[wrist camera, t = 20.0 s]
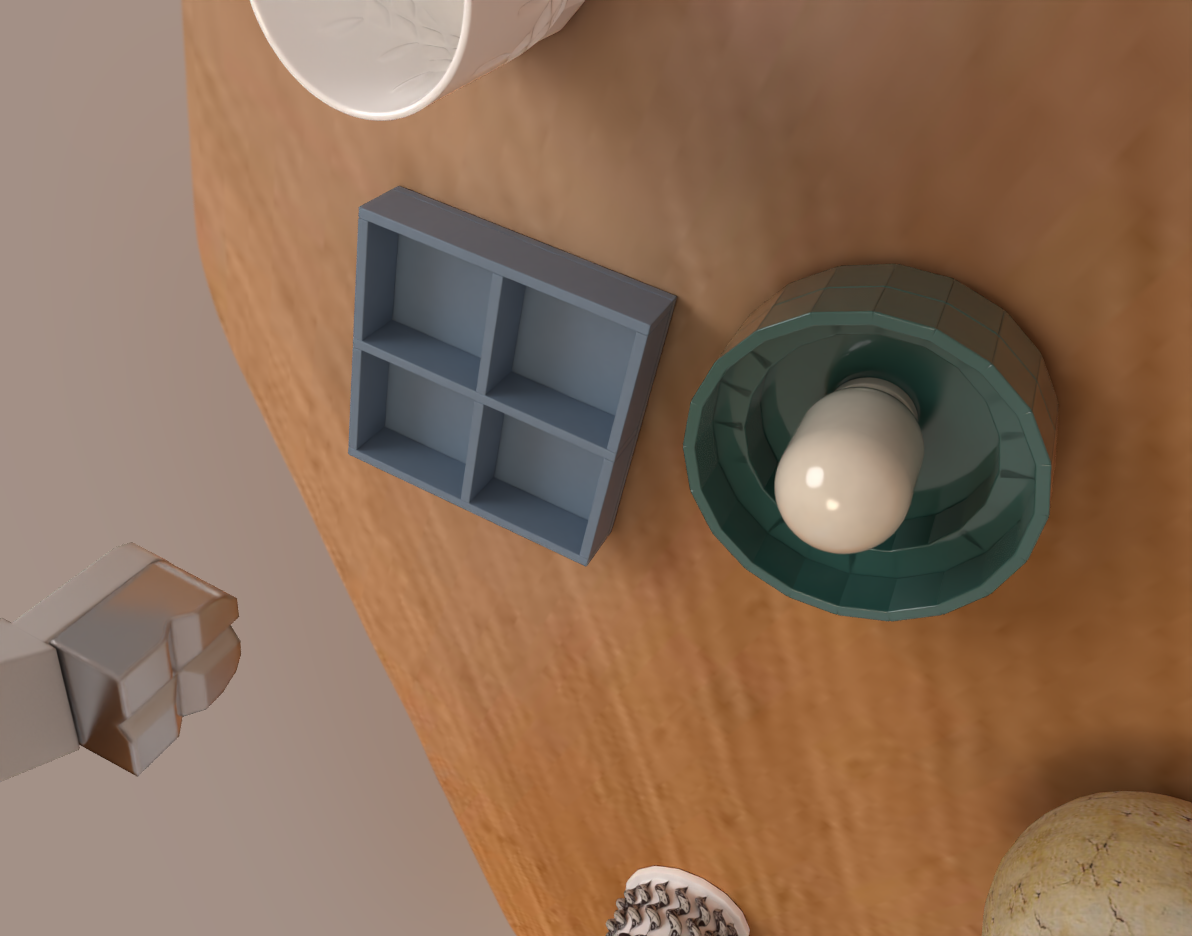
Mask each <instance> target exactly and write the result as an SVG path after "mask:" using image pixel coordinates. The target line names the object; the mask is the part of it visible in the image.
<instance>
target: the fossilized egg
mask: <svg viewBox="0 0 1192 936" xmlns="http://www.w3.org/2000/svg"><path fill="white" fill-rule="evenodd" d="M982 936H1192V802H1189V801H1185V800H1182V799H1178V798H1175V797H1171V796H1167V795H1162V794H1156V793H1150V792H1140V791H1113V792H1102V793H1096V794H1091V795H1087V796H1083V797H1079V798H1077V799H1074V800H1072V801H1070V802H1068V803H1065V804H1063V805H1061V806H1059V807H1057V808H1055V809H1053V810H1051V811H1050V812H1048V813H1046V814H1045V815H1043V816H1042V817H1040V818H1039V819H1038V820H1036V821H1035V822H1034V823H1032V824H1031V825H1030V826H1029V827H1028V828H1027V829H1026V830H1025V831H1024V832H1023V833H1022V834H1021V835H1020V837H1019V838H1018V839H1017V840H1016V842H1015V843H1014V844H1013V845H1012V847H1011V848H1010V849H1009V851H1008V852H1007V853H1006V855H1005V856H1004V857H1003V859H1002V860H1001V862H1000V864H999V867H998V869H997V871H996V873H995V876H994V879H993V882H992V885H991V887H990V890H989V893H988V896H987V900H986V903H985V909H984V917H983V928H982Z"/></svg>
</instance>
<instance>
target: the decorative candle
mask: <svg viewBox="0 0 1192 936" xmlns="http://www.w3.org/2000/svg"><path fill="white" fill-rule="evenodd" d="M624 896H625V898H620V899H617V901H616V905H617V907H618V909H619V910H616V911H615V913H614V917H615V918H614V919H608V920H607V922H606V926H607V928H608V930H609V932H608V933H607V934H606V936H749V931H750V929H749V926H748V924H747V922H746V919H745V917H744V915H743V912H742V911H741V910H740V909H739V908H738V907H737V905H736V904H735V903H734V902H733V901H732V900H731V899H730V898H729V897H728V896H727V895H726V894H725V893H724V892H722V891H721V890H719V889H718V888H716V887H715V886H713V885H712V884H710V883H709V882H707V881H706V880H704V879H703V878H700V877H698V876H695V875H693V874H690V873H688V872H685V871H683V870H680V869H676V868H668V867H661V866H652V867H648V868H643V869H639V870H637V871H636V872H635V873H634V874H633V875H632V876H631V877H630V878H629V880H628V881H627V883H626V890H625V892H624Z"/></svg>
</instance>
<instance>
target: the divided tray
mask: <svg viewBox="0 0 1192 936" xmlns="http://www.w3.org/2000/svg"><path fill="white" fill-rule="evenodd" d="M676 299H677V296H675V295H672V294H670V293H667V292H665V291H662V290H660V289H657V288H655V287H652V286H650V285H647V284H645V283H642V282H640V281H637V280H635V279H632V278H629V277H627V276H624V275H622V274H619V273H617V272H614V271H612V270H609V269H607V268H604V267H602V266H599V265H597V264H594V263H592V262H589V261H587V260H584V259H582V258H579V257H577V256H574V255H572V254H569V253H567V252H564V251H562V250H559V249H557V248H554V247H552V246H549V245H547V244H544V243H542V242H539V241H536V240H534V239H531V238H529V237H526V236H524V235H521V234H519V233H516V232H514V231H511V230H509V229H506V228H504V227H501V226H499V225H496V224H494V223H491V222H489V221H486V220H484V219H481V218H479V217H476V216H474V215H471V214H469V213H466V212H464V211H461V210H459V209H456V208H454V207H451V206H449V205H446V204H443V203H441V202H438V201H436V200H433V199H431V198H428V197H426V196H423V195H421V194H418V193H416V192H413V191H411V190H408V189H406V188H403V187H401V186H397V187H396V188H394V189H392V190H390V191H388V192H386V193H384V194H382V195H380V196H379V197H377V198H375V199H373V200H371V201H369V202H367V203H365V204H364V205H362V206H360V207H359V219H358V242H357V265H356V288H355V311H354V334H353V337H354V338H353V346H354V347H353V357H352V380H351V403H350V426H349V449H348V454H349V455H351V456H353V457H355V458H357V459H359V460H362V461H364V462H366V463H368V464H370V465H372V466H374V467H376V468H379V469H381V470H383V471H385V472H387V473H389V474H391V475H393V476H395V477H398V478H400V479H402V480H404V481H406V482H408V483H410V484H412V485H415V486H417V487H419V488H421V489H423V490H425V491H427V492H429V493H431V494H434V495H436V496H438V497H440V498H442V499H444V500H446V501H448V502H451V503H453V504H455V505H457V506H459V507H461V508H463V509H465V510H467V511H470V512H472V513H474V514H476V515H478V516H480V517H482V518H484V519H487V520H489V521H491V522H493V523H495V524H497V525H499V526H501V527H503V528H506V529H508V530H510V531H512V532H514V533H516V534H518V535H520V536H523V537H525V538H527V539H529V540H531V541H533V542H535V543H537V544H539V545H542V546H544V547H546V548H548V549H550V550H552V551H554V552H556V553H559V554H561V555H563V556H565V557H567V558H569V559H571V560H573V561H575V562H578V563H580V564H582V565H584V566H587V565H588V564H589V562H590V561H591V560H592V558H593V557H594V555H595V554H596V552H597V551H598V550H599V548H600V547H601V545H602V544H603V543H604V541H605V540H606V538H607V536H608V535H609V534H610V533H611V531H612V527H613V524H614V520H615V517H616V513H617V509H618V506H619V502H620V499H621V495H622V491H623V488H624V484H625V481H626V477H627V474H628V470H629V466H630V463H631V459H632V456H633V452H634V449H635V445H636V441H637V438H638V434H639V431H640V427H641V424H642V420H643V416H644V413H645V409H646V406H647V402H648V399H649V395H650V391H651V388H652V384H653V381H654V377H655V374H656V370H657V366H658V363H659V359H660V356H661V352H662V349H663V345H664V341H665V338H666V334H667V331H668V327H669V324H670V320H671V316H672V313H673V309H674V306H675V302H676Z"/></svg>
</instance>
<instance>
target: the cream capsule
mask: <svg viewBox="0 0 1192 936" xmlns="http://www.w3.org/2000/svg"><path fill="white" fill-rule="evenodd" d="M924 455H925V446H924V437H923V434H922V430H921V428H920V426H919V423H918V414H917V411H916V408H915V405H914V403H913V402H912V400H911V399H910V397H909V396H908V395H907V394H906V393H905V392H904V391H903V390H902V389H901V388H899V387H898V386H896V385H895V384H893V383H891V382H888V381H886V380H883V379H878V378H870V377H866V378H857V379H854V380H850V381H848V382H846V383H844V384H842V385H841V386H840V387H838V388H837V389H836V390H835V391H834V392H831V393H829V394H827V395H825V396H824V397H822V398H820V399H819V400H818V401H817V402H815V403H814V404H813V405H812V406H811V407H810V408H809V409H808V410H807V412H806V413H805V414H804V416H803V417H802V419H801V420H800V422H799V424H798V426H797V428H796V430H795V432H794V434H793V436H792V437H791V439H790V441H789V443H788V445H787V447H786V449H785V451H784V453H783V455H782V457H781V459H780V461H779V463H778V466H777V470H776V473H775V481H774V493H775V500H776V504H777V507H778V510H779V513H780V515H781V517H782V519H783V521H784V522H785V524H786V525H787V526H788V528H789V529H790V530H791V531H792V532H793V534H795V535H796V536H797V537H798V538H799V539H800V540H802V541H803V542H804V543H806V544H808V545H809V546H811V547H813V548H815V549H818V550H820V551H823V552H827V553H832V554H855V553H861V552H864V551H867V550H870V549H872V548H874V547H877V546H879V545H880V544H882V543H883V542H885V541H886V540H887V539H889V538H890V537H891V536H892V535H893V534H894V533H895V532H896V531H897V530H898V529H899V527H900V526H901V525H902V523H903V521H904V520H905V518H906V516H907V514H908V511H909V509H910V506H911V503H912V499H913V496H914V493H915V490H916V486H917V483H918V480H919V477H920V473H921V470H922V466H923V462H924Z"/></svg>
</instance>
